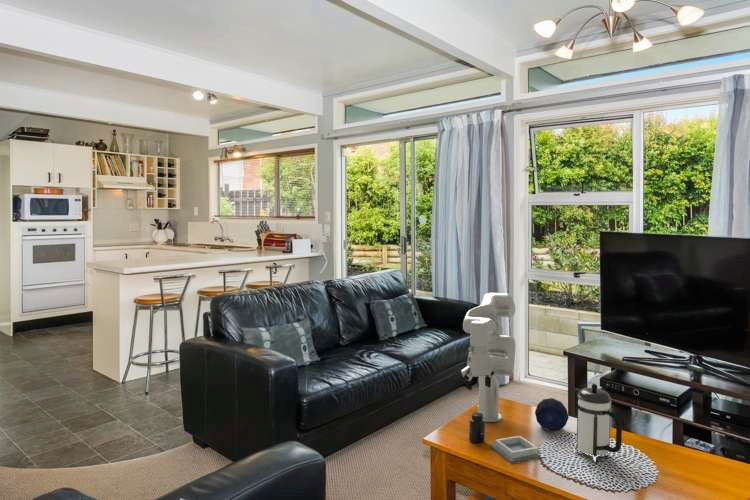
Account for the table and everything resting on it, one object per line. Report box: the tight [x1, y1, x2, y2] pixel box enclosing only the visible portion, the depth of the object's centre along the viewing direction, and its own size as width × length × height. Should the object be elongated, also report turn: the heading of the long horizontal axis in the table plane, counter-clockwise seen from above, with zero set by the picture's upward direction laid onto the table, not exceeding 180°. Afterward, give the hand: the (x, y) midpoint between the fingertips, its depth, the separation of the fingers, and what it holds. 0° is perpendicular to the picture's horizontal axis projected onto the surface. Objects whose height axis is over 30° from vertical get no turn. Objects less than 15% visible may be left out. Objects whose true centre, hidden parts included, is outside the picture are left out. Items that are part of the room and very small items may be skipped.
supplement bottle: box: [468, 411, 486, 444], centre depth 221 cm, size 7×7×12 cm
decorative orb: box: [534, 397, 570, 432], centre depth 233 cm, size 14×15×15 cm
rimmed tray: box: [488, 435, 541, 465], centre depth 210 cm, size 16×16×4 cm
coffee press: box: [575, 383, 623, 456], centre depth 206 cm, size 17×16×30 cm
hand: (478, 387), depth 219 cm, fingers open, 9 cm apart
